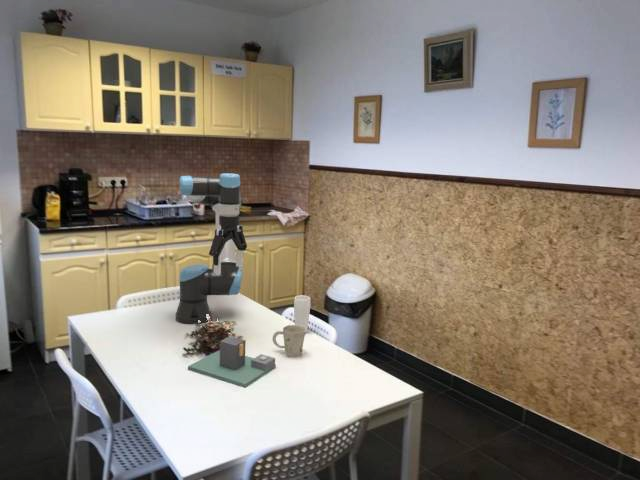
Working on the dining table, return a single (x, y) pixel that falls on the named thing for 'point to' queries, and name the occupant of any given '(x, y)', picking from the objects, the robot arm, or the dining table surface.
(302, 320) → the drinking glass
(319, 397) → the dining table surface
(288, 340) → the mug
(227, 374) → the board
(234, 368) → the dark gray box
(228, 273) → the robot arm
